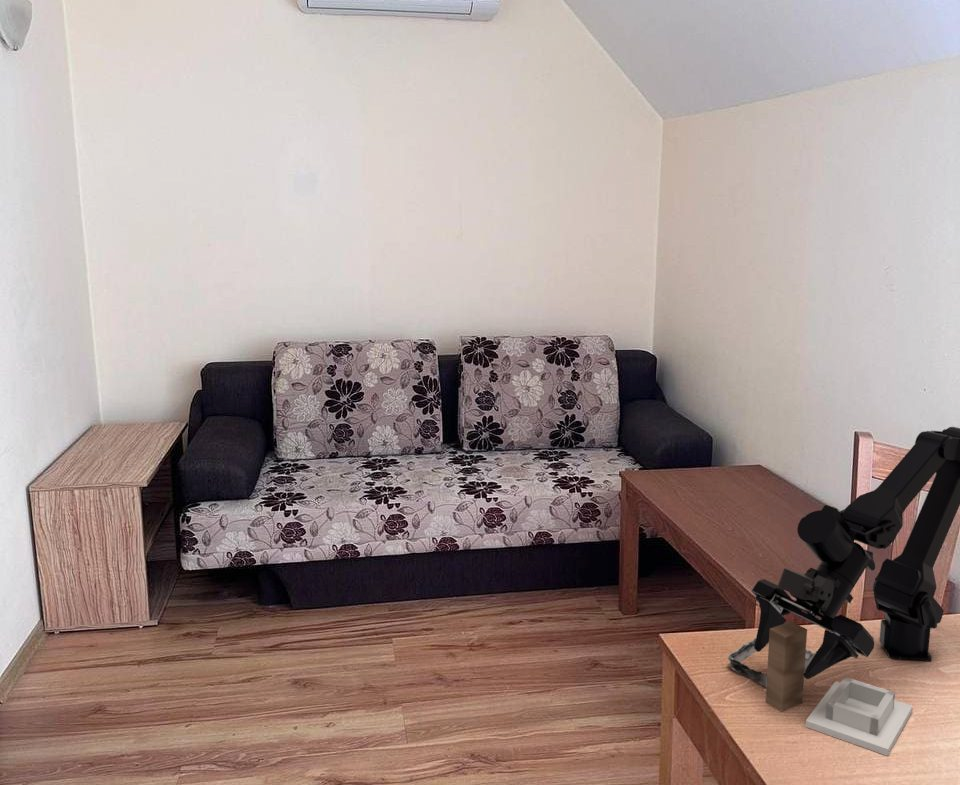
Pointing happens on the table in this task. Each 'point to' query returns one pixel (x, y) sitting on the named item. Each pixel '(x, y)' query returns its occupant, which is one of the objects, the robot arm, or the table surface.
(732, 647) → the table surface
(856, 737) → the white recessed tray
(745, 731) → the table surface
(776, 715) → the table surface
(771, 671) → the walnut block
